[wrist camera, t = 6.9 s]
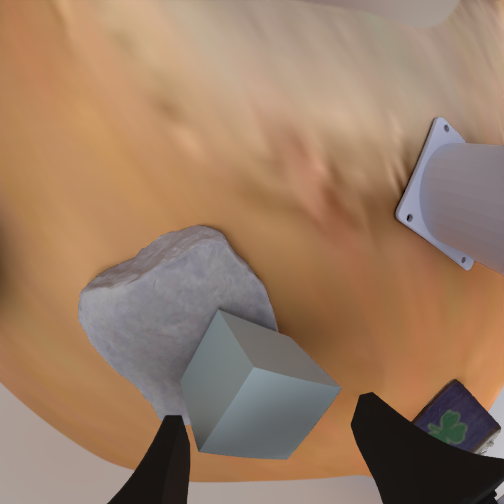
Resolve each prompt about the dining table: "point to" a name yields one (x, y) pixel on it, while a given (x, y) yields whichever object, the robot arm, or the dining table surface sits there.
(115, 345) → the stone block
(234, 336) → the cube
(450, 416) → the flask
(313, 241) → the dining table surface
